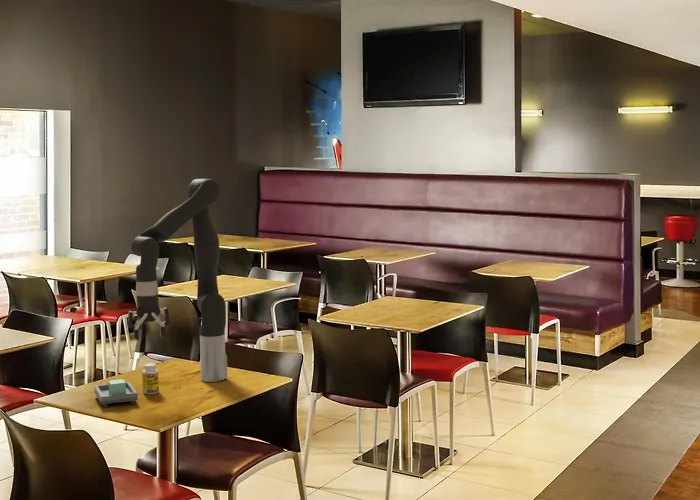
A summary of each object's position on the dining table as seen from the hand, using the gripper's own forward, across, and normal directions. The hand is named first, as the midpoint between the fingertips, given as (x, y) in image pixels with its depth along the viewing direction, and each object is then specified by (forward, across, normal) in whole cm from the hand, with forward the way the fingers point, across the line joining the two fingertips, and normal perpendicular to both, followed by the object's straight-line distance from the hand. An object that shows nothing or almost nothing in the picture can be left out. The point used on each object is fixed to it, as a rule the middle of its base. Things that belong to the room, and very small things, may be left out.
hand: (149, 338), depth 312 cm
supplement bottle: (+20, 0, 0) cm, 20 cm away
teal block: (+17, +13, +8) cm, 23 cm away
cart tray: (+20, +14, +4) cm, 24 cm away
